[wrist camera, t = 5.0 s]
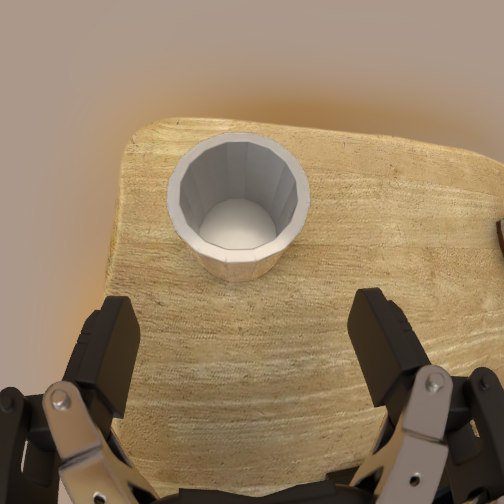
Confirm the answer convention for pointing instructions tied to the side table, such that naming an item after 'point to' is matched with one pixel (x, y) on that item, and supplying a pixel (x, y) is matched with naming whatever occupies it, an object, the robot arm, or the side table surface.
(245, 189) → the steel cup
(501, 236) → the food container
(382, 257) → the side table surface
